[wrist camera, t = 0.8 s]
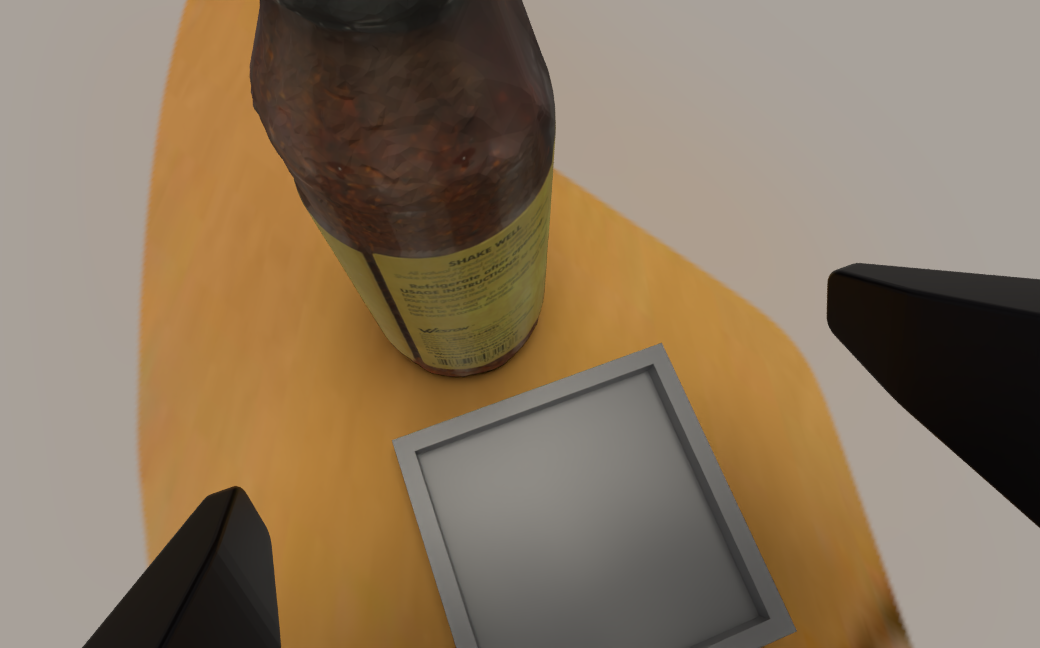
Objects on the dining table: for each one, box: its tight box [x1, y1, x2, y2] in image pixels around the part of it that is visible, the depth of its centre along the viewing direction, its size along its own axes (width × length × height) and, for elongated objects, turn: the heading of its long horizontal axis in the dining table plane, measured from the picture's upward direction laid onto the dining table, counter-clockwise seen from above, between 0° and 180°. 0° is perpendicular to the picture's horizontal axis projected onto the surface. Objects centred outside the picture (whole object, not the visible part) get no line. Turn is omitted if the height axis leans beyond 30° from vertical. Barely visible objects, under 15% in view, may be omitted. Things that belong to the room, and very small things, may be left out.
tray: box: [392, 343, 797, 648], centre depth 21 cm, size 10×10×2 cm
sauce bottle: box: [250, 0, 556, 377], centre depth 15 cm, size 7×6×20 cm
